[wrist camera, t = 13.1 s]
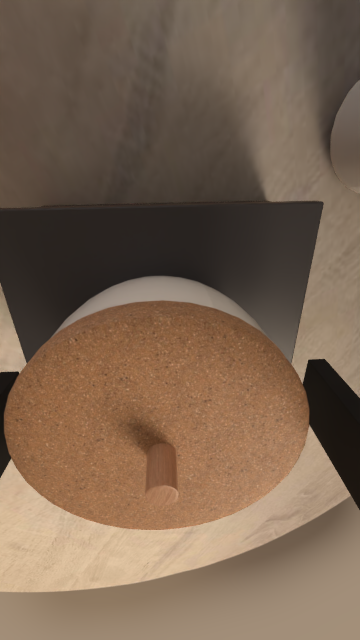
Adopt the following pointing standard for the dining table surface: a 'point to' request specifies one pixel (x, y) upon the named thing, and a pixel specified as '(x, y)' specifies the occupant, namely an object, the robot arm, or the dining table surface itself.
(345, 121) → the can
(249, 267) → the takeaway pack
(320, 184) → the dining table surface
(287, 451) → the lidded bowl
